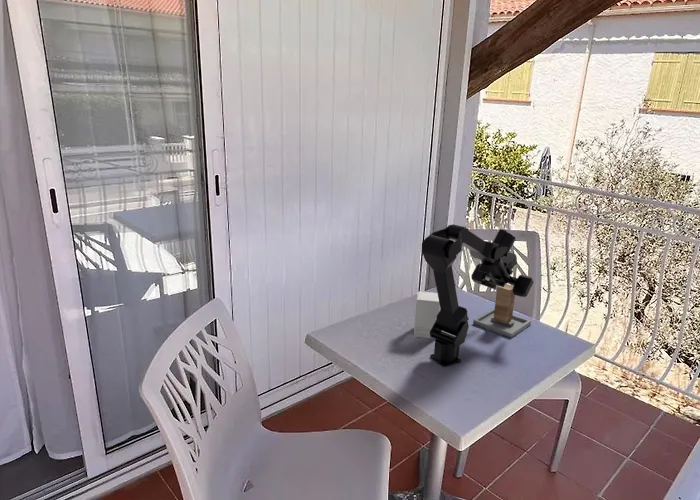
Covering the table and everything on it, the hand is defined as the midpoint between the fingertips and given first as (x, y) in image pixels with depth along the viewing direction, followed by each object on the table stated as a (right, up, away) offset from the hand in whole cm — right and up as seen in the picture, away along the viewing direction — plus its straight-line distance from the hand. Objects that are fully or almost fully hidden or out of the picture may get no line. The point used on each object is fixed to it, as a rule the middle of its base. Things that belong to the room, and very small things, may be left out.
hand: (508, 291), depth 160 cm
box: (-1, -11, +2) cm, 11 cm away
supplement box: (-28, -13, -4) cm, 31 cm away
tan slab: (-1, -11, +2) cm, 11 cm away
